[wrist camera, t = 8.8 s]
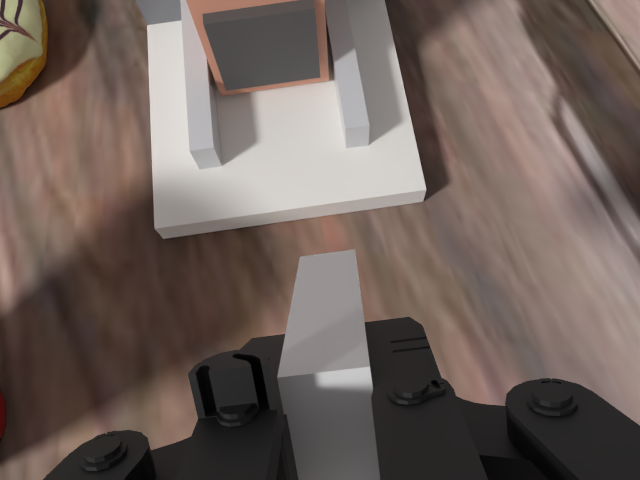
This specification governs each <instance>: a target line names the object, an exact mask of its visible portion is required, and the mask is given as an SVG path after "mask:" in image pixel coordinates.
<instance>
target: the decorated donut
mask: <svg viewBox="0 0 640 480" xmlns="http://www.w3.org/2000/svg"><path fill="white" fill-rule="evenodd" d="M47 29H48V23H47V18H46V14H45V9H44V4H43V2H42V0H0V108H1V107H5V106H7V105H8V104H9V103H11V102H15V101H17V100H18V99H20V98H21V97H22V95H23V94H24V92H25V89H26V88H28V87H29V86H30V85H31V83H32V82H33V81H34V80H35V79H36V78H37V76H38V74H39V73H40V72H41V71H42V69H43V68H44V66H45V64H46V61H47V37H48V33H47V32H48V31H47Z"/></svg>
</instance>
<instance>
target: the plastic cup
mask: <svg viewBox="0 0 640 480" xmlns="http://www.w3.org/2000/svg"><path fill="white" fill-rule="evenodd" d="M5 426H6V404H5V400H4V398H3V396H2V393H1V391H0V440H1V437H2V434H3V431H4V429H5Z"/></svg>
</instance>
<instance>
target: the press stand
mask: <svg viewBox="0 0 640 480" xmlns="http://www.w3.org/2000/svg"><path fill="white" fill-rule="evenodd" d="M135 1H136V3H137V5H138V7H139V9H140V11H141V13H142V15H143V17H144V19H145V22H146V24H147V32H148V60H149V89H150V117H151V145H152V174H153V202H154V229H155V230H156V231H157V232H158V233H159V234H160V236H161V237H162V238H163V239H167V238H173V237H180V236H187V235H194V234H201V233H208V232H215V231H222V230H229V229H236V228H243V227H250V226H257V225H264V224H271V223H278V222H285V221H292V220H299V219H306V218H313V217H320V216H327V215H334V214H341V213H348V212H355V211H362V210H369V209H376V208H383V207H390V206H397V205H404V204H411V203H418V202H423V200H424V197H425V193H426V185H425V181H424V176H423V172H422V167H421V163H420V158H419V154H418V149H417V144H416V140H415V135H414V131H413V126H412V122H411V117H410V113H409V108H408V104H407V99H406V95H405V90H404V85H403V81H402V76H401V72H400V67H399V63H398V58H397V54H396V49H395V45H394V40H393V36H392V31H391V27H390V22H389V17H388V13H387V8H386V4H385V0H325V17H326V35H327V53H328V70H329V81H322V82H315V83H308V84H301V85H294V86H287V87H280V88H273V89H266V90H259V91H252V92H245V93H238V94H231V95H224V96H221V95H220V93H219V90H218V87H217V84H216V82H215V79H214V76H213V73H212V71H211V68H210V65H209V63H208V60H207V57H206V54H205V52H204V49H203V46H202V43H201V41H200V38H199V35H198V32H197V30H196V27H195V24H194V21H193V19H192V16H191V13H190V10H189V8H188V5H187V2H186V0H135Z"/></svg>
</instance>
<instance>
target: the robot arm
mask: <svg viewBox="0 0 640 480" xmlns="http://www.w3.org/2000/svg"><path fill="white" fill-rule="evenodd" d="M188 375H189V380H190V384H191V389H192V393H193V397H194V402H195V406H196V410H197V415H198V421H197V423H196V426H195V429H194V431H193V434H192V436H191V437H189V438H187V439H184V440H182V441H179V442H177V443H174V444H170V445H167V446H164V447H161V448H157V449H154V450H150V446H149V442H148V438H147V437H146V436H144V435H143V434H142V433H141V432H136V431H131V430H125V431H112V432H108V433H107V434H105V433H104V434H101V435H98V436H96V437H95V438H94V439H92V440H90V441H88V442H86V443H84V444H82V445H80V446H79V447H78V448H77V449H75V450H74V451H73V452H71V453H70V454H69V455H68V456H67V457H66V458H65V459H64V460H63V461H62V462H61V463H60V464H58V465H57V466H56V467H55V468H54V469H53V470H52V471H51V472H50V473H49V474H48V475H47V476H46V477H45V478H44V479H43V480H640V426H639V425H638V424H637V423H635V422H634V421H633V420H631V419H630V418H628V417H627V416H626V415H624V414H623V413H622V412H620V411H619V410H617V409H616V408H615V407H613V406H612V405H610V404H609V403H608V402H606V401H605V400H604V399H602V398H601V397H599V396H598V395H597V394H595V393H594V392H593V391H591V390H589V389H587V388H585V387H583V386H581V385H579V384H576V383H572V382H568V381H564V380H561V379H550V378H545V379H539V380H532V381H526V382H524V383H521V384H519V385H517V386H514V387H513V388H512V389H511V390H510V391H509V392H508V393H507V396H506V403H505V404H506V406H498V405H486V404H479V403H473V402H470V401H466V400H463V399H461V398H459V397H457V396H456V395H455V392H454V389H453V388H452V386H451V385H450V384H449V383H448V381H447V380H445V379H443V378H441V375H440V373H439V370H438V367H437V364H436V362H435V359H434V356H433V353H432V351H431V348H430V345H429V342H428V340H427V337H426V334H425V331H424V329H423V326H422V325H421V324H419V323H418V322H416V321H415V320H413V319H412V318H410V317H405V318H397V319H389V320H381V321H373V322H365V320H364V313H363V306H362V298H361V291H360V283H359V276H358V269H357V261H356V254H355V249H354V250H347V251H339V252H332V253H324V254H317V255H309V256H302V257H300V259H299V265H298V270H297V275H296V281H295V286H294V291H293V296H292V302H291V307H290V312H289V318H288V323H287V328H286V333H285V334H283V335H275V336H267V337H259V338H252V339H251V340H250V341H249V342H248V343H246V344H245V345H244V346H243V347H242V348H241V349H240V350H234V351H229V352H224V353H220V354H217V355H215V356H212V357H209V358H207V359H205V360H203V361H202V362H200V363H199V364H197V365H196V366H194V367H193V369H192V370H191V371H190V372H189V373H188Z"/></svg>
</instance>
